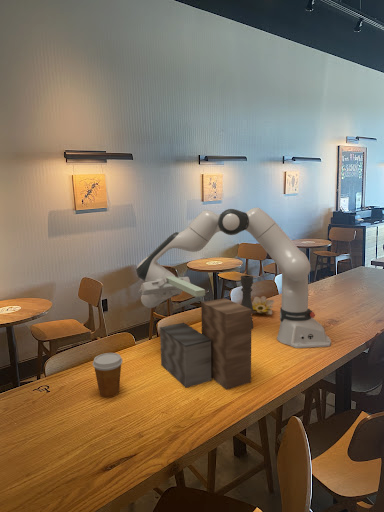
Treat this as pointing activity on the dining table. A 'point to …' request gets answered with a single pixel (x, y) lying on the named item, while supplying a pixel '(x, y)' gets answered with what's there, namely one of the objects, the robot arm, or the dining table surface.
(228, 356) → the plinth
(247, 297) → the candle holder
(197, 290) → the slat
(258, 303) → the decorative flower
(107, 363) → the disposable coffee cup
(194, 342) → the dark wood grain brick
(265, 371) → the dining table surface
